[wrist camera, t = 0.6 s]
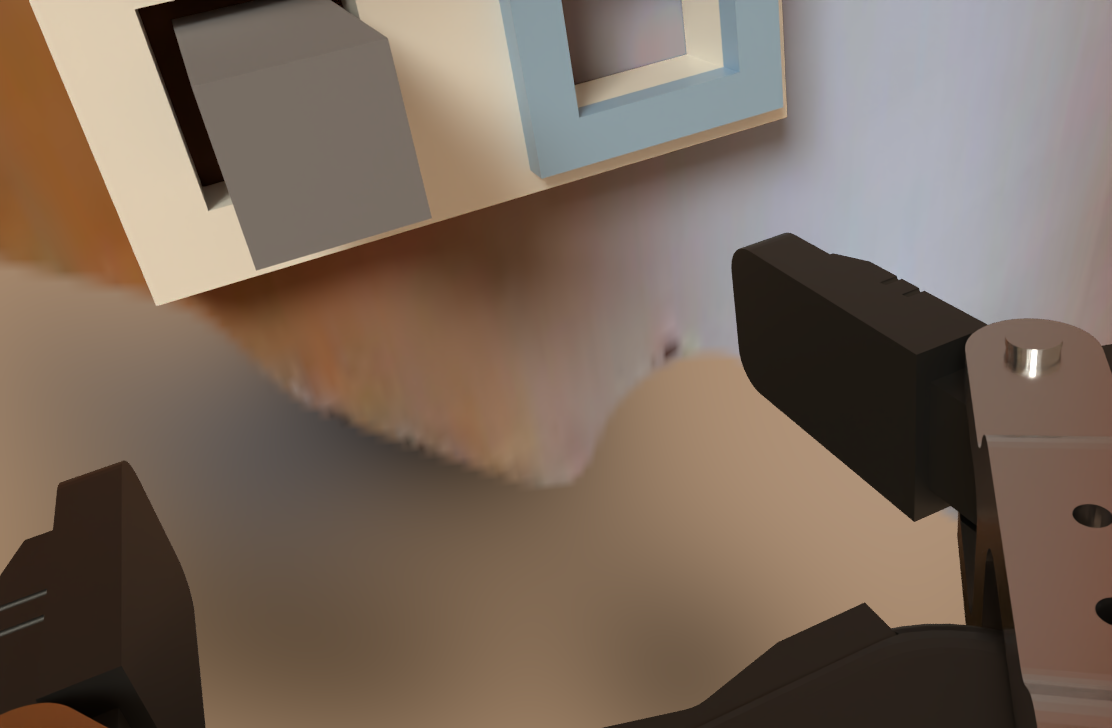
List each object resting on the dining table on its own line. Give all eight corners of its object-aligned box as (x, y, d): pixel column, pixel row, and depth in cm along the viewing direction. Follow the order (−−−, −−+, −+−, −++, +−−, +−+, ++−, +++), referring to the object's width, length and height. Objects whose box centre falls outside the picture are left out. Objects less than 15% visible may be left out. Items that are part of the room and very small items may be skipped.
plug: (310, -13, 29) (388, 38, 20) (348, 121, 31) (431, 218, 22) (170, 19, 28) (191, 86, 19) (218, 156, 30) (256, 270, 21)
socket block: (727, -217, 30) (791, -226, 27) (748, 102, 35) (804, 123, 32) (11, -73, 25) (-4, -65, 22) (154, 275, 30) (157, 319, 27)
